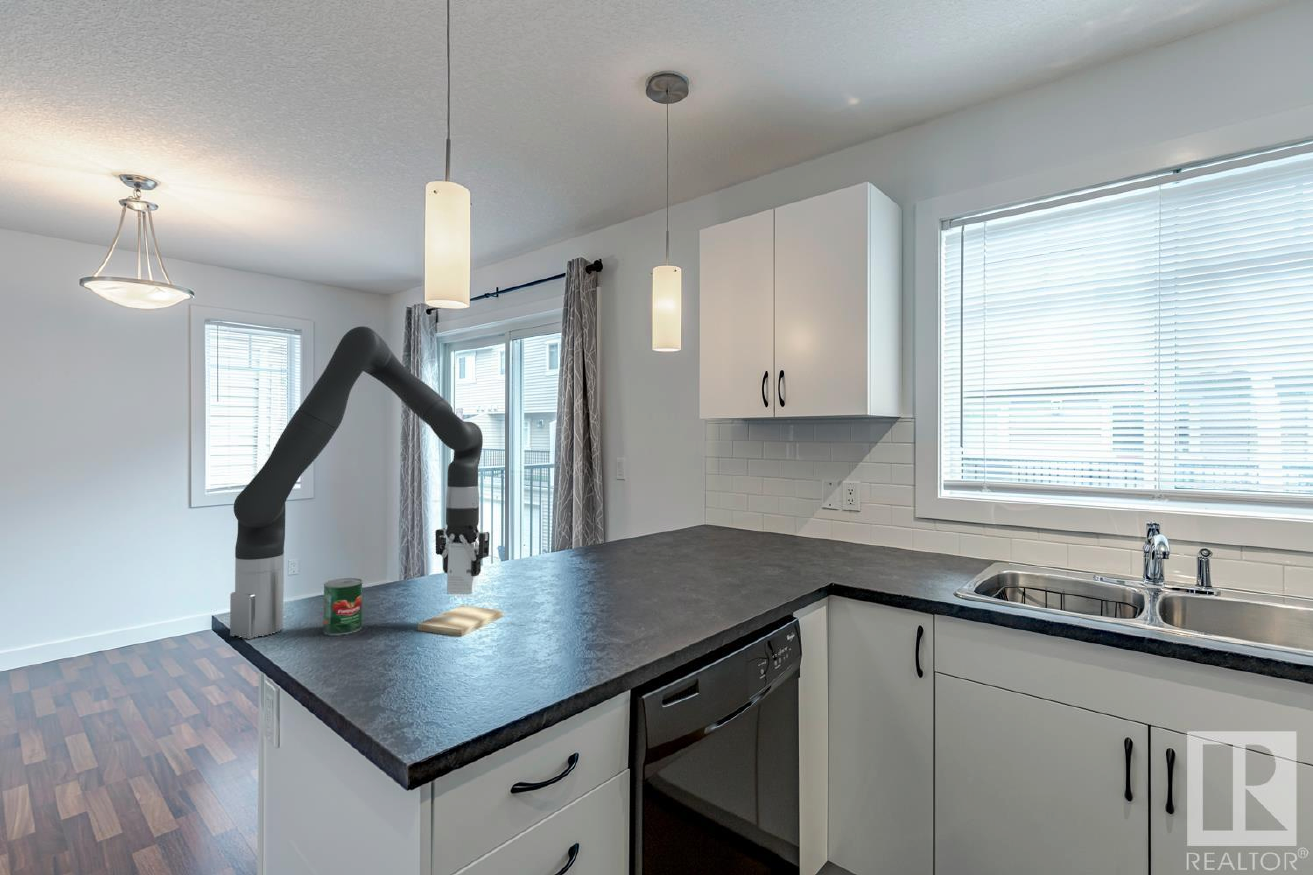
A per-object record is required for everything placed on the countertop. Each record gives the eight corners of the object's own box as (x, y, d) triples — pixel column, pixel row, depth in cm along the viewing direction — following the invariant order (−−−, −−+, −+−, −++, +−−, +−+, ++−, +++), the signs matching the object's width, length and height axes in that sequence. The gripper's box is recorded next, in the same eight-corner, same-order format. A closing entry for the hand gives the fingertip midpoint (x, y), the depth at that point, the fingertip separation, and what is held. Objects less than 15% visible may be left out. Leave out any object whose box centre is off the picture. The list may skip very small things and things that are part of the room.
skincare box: (446, 595, 143) (446, 543, 143) (450, 590, 148) (450, 540, 148) (473, 594, 144) (474, 543, 144) (476, 589, 149) (476, 539, 149)
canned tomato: (345, 636, 136) (346, 587, 136) (315, 634, 137) (315, 585, 137) (369, 625, 144) (369, 578, 143) (340, 623, 145) (340, 577, 145)
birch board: (461, 636, 137) (461, 629, 137) (417, 630, 141) (417, 623, 141) (502, 616, 152) (502, 610, 152) (462, 611, 156) (462, 605, 156)
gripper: (427, 505, 145) (426, 574, 145) (478, 508, 140) (477, 580, 140) (448, 502, 152) (447, 568, 152) (497, 505, 147) (496, 573, 147)
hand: (461, 574), depth 146 cm, fingers closed on skincare box, 7 cm apart
